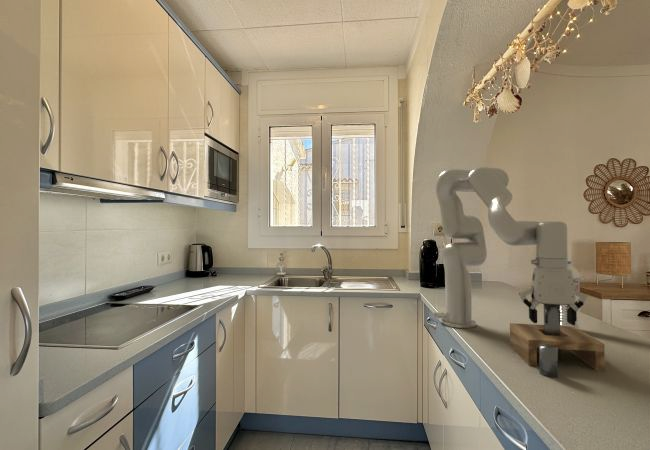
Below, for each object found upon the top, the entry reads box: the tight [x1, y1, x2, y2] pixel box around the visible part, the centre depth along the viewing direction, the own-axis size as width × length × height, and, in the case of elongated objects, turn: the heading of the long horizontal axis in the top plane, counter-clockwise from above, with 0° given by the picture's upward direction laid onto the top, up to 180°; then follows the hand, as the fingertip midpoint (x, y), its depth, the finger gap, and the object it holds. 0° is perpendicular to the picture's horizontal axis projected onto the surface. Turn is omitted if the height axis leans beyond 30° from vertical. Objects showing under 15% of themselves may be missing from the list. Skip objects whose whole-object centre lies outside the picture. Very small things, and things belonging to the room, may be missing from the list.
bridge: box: [509, 323, 606, 372], centre depth 99 cm, size 18×16×7 cm
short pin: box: [538, 344, 559, 379], centre depth 87 cm, size 4×4×7 cm
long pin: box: [543, 304, 562, 360], centre depth 99 cm, size 4×4×16 cm
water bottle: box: [560, 260, 581, 330], centre depth 124 cm, size 7×7×25 cm
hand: (552, 322), depth 99 cm, fingers open, 9 cm apart
